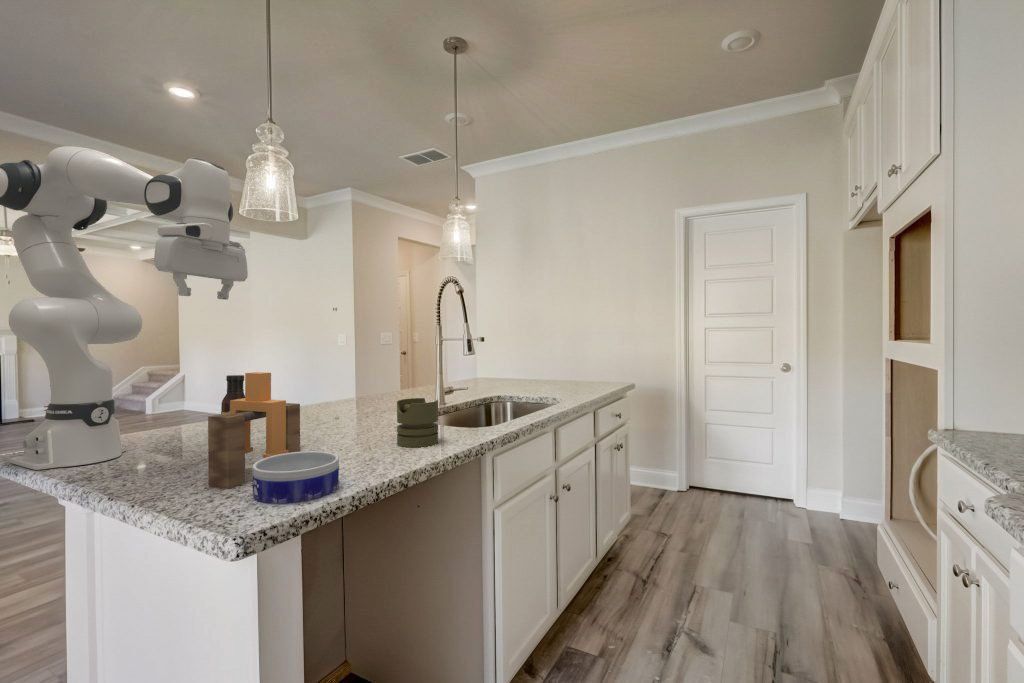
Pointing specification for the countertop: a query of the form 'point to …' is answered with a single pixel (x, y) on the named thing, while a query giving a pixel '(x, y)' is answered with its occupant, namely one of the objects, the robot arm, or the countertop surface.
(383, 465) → the countertop surface
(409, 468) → the countertop surface
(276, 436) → the orange stepped block
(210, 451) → the crossbar stand
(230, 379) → the sauce bottle
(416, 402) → the piston
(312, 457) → the dog bowl
